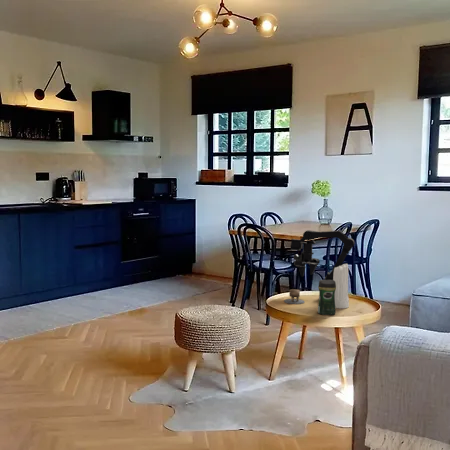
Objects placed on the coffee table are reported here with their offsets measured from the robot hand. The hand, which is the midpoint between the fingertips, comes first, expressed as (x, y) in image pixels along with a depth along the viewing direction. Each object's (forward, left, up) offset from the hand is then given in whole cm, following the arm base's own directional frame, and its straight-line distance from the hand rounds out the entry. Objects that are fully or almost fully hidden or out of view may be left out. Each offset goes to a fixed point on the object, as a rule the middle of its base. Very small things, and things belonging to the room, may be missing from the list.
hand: (306, 275), depth 344 cm
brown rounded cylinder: (-4, +17, -13) cm, 22 cm away
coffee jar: (-33, +26, -13) cm, 44 cm away
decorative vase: (-28, +6, -13) cm, 32 cm away
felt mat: (-4, +17, -13) cm, 22 cm away
